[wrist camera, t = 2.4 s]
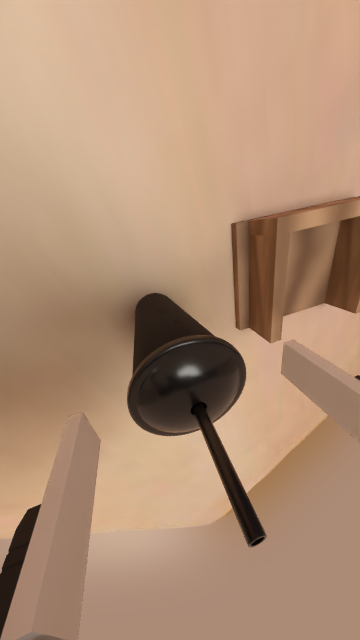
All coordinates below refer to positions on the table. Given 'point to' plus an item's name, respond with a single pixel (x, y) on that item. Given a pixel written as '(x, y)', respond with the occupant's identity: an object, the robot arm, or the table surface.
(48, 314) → the table surface
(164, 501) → the table surface
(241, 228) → the u rest
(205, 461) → the table surface
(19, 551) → the robot arm
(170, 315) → the drinking cup
